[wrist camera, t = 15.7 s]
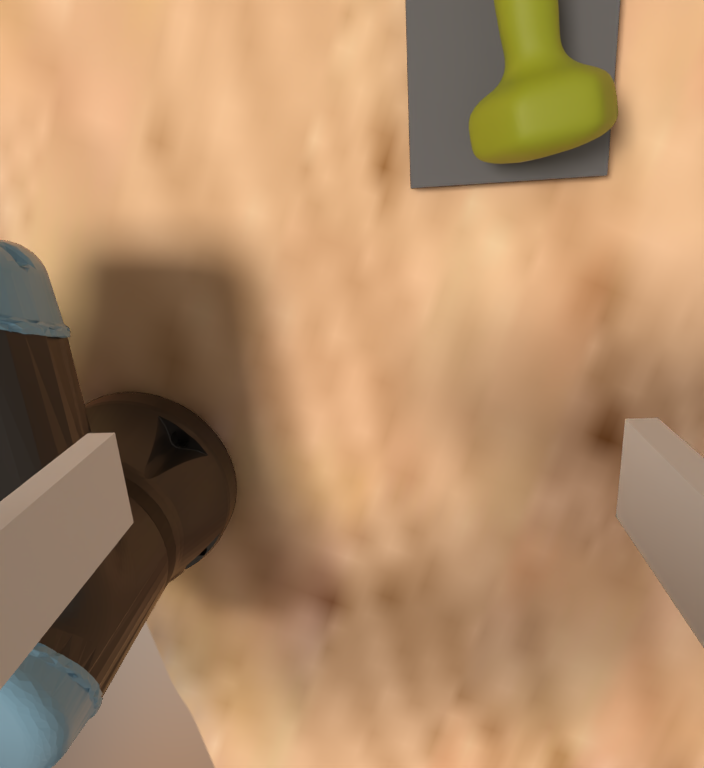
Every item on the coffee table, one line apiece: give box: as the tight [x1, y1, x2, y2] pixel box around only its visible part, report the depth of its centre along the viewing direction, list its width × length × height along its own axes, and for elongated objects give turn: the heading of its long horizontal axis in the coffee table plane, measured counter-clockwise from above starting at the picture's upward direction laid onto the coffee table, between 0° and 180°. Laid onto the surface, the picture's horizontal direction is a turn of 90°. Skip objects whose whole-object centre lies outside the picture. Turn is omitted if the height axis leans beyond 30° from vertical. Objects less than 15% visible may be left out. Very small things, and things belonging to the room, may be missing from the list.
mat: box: [406, 0, 620, 188], centre depth 33 cm, size 12×19×2 cm, turn 4°
